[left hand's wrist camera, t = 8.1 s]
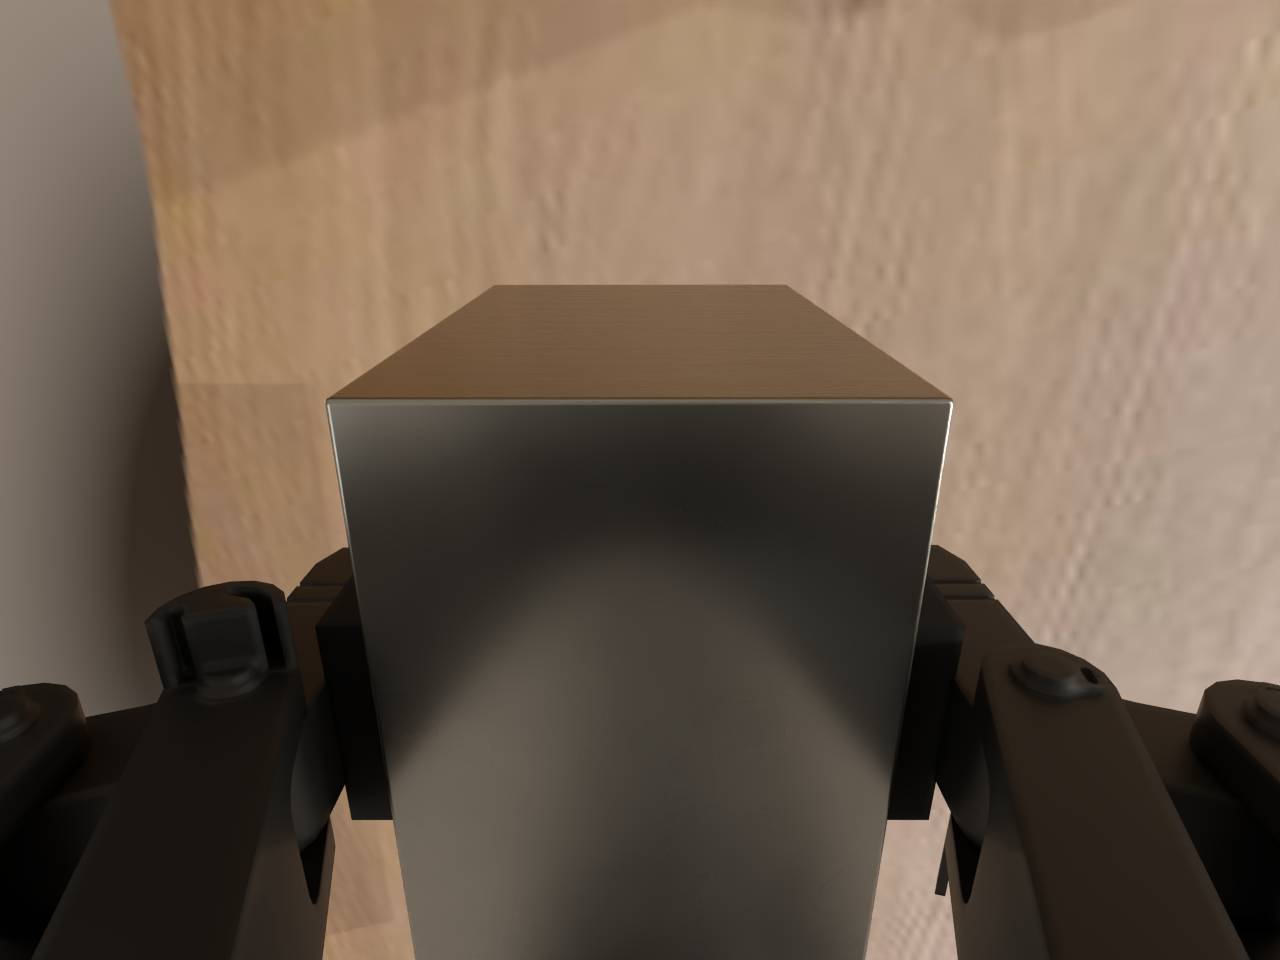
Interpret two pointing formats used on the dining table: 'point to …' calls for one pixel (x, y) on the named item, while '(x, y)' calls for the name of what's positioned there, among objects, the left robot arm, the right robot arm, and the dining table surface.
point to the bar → (639, 617)
